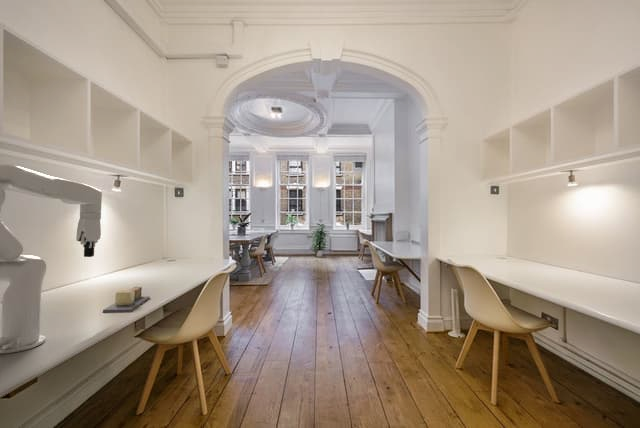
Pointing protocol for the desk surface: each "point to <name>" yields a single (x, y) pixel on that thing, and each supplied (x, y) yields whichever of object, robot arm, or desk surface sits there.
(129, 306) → the tong mat
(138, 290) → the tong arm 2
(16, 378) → the desk surface
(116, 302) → the tan block
